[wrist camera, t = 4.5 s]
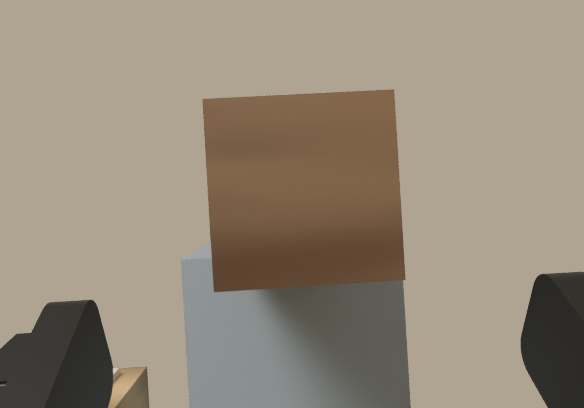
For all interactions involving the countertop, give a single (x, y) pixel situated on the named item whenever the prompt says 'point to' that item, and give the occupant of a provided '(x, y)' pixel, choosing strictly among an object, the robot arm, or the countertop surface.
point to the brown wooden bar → (303, 190)
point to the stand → (294, 344)
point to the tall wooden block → (129, 388)
